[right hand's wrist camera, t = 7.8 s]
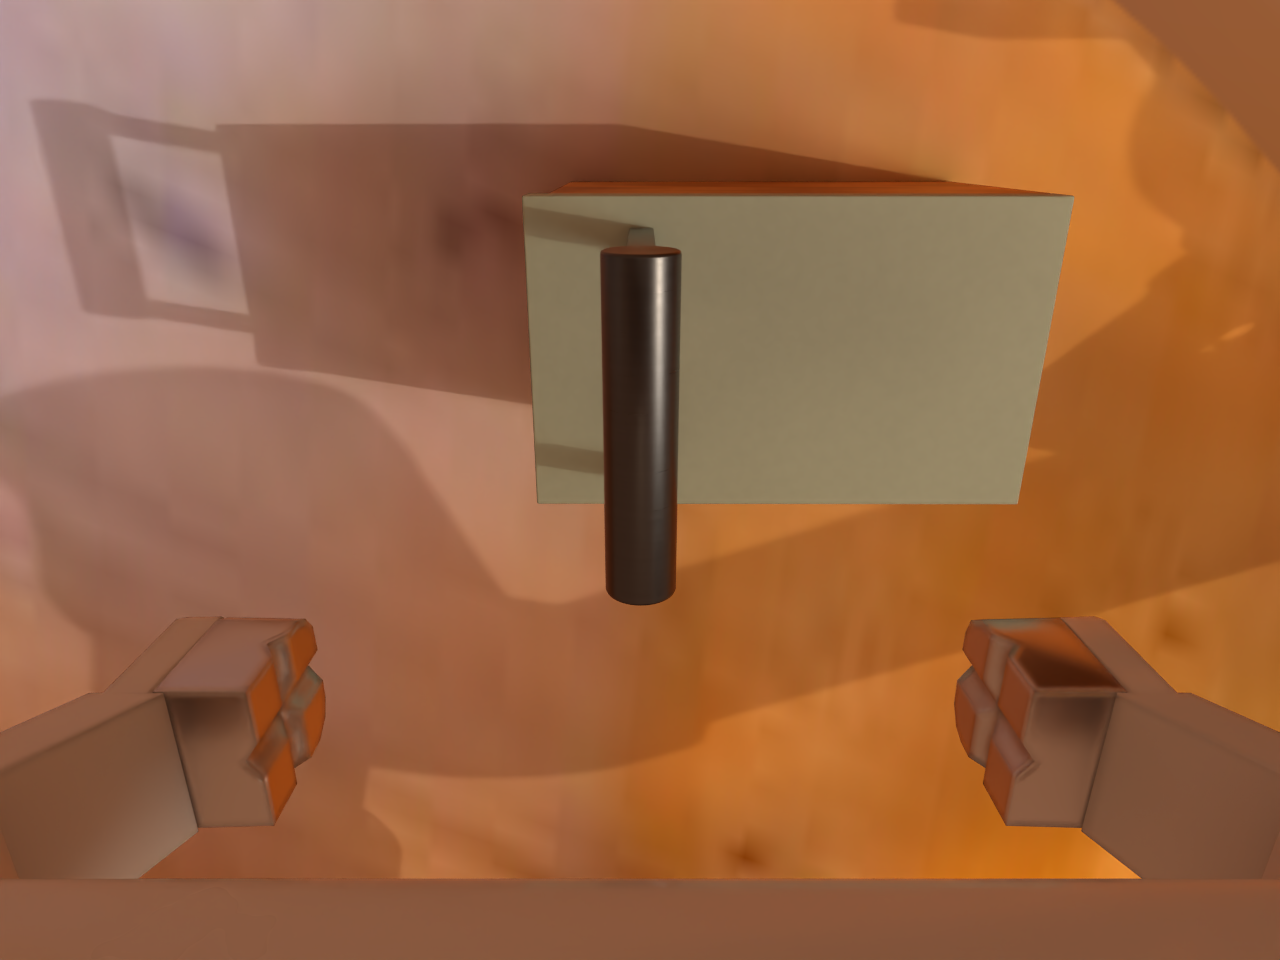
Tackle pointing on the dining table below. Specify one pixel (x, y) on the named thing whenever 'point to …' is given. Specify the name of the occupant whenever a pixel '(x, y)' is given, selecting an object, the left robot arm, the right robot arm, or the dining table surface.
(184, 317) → the dining table surface
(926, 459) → the lid
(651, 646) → the dining table surface
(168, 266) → the dining table surface
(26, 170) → the dining table surface
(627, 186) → the chest
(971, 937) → the right robot arm
